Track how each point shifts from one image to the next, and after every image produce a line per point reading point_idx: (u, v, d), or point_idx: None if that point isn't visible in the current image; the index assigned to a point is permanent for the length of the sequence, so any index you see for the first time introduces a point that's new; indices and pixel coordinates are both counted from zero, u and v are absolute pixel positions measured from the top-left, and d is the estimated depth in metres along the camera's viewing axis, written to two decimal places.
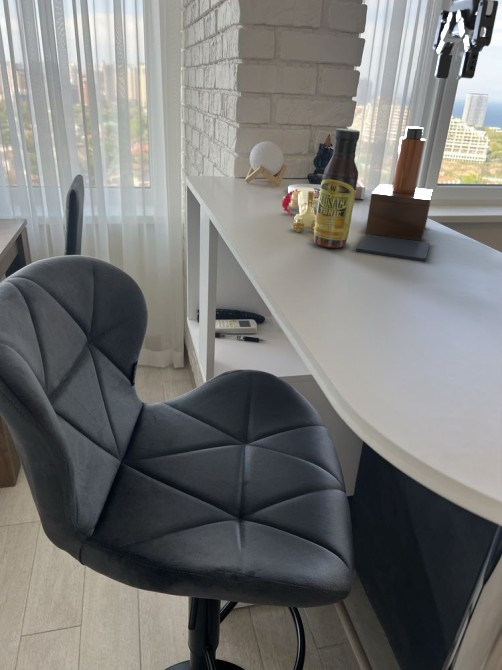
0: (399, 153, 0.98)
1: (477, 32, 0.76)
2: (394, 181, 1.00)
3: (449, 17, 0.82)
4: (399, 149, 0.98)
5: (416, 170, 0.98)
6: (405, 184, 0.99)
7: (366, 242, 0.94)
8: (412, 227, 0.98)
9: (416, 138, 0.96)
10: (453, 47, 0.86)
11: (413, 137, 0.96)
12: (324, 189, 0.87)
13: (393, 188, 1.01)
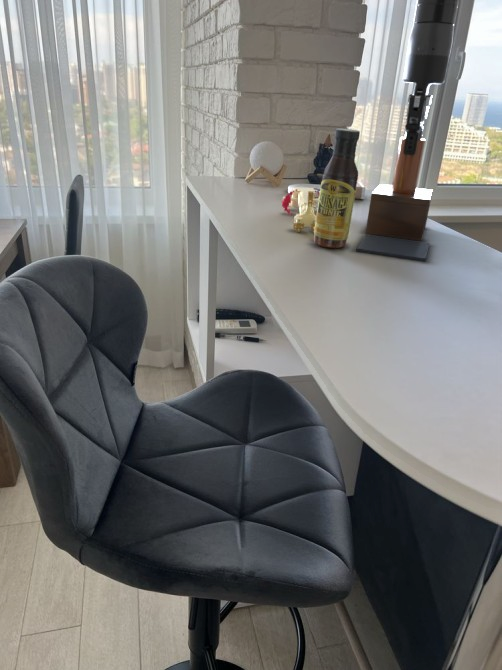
0: (399, 153, 0.98)
1: None
2: (394, 181, 1.00)
3: None
4: (399, 149, 0.98)
5: (416, 170, 0.98)
6: (405, 184, 0.99)
7: (366, 242, 0.94)
8: (412, 227, 0.98)
9: None
10: (420, 125, 0.98)
11: None
12: (324, 189, 0.87)
13: (393, 188, 1.01)
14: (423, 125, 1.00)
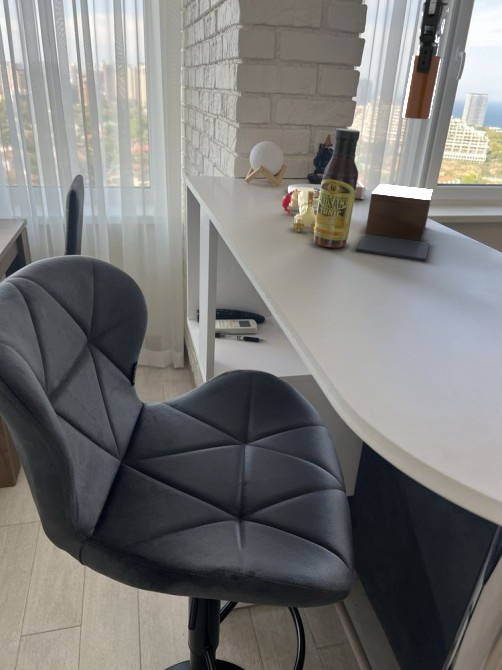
0: (411, 73, 0.89)
1: (421, 31, 0.82)
2: (406, 106, 0.91)
3: None
4: (412, 68, 0.89)
5: (430, 91, 0.89)
6: (417, 108, 0.90)
7: (366, 242, 0.94)
8: (412, 227, 0.98)
9: None
10: (436, 41, 0.89)
11: None
12: (324, 189, 0.87)
13: (404, 114, 0.92)
14: None
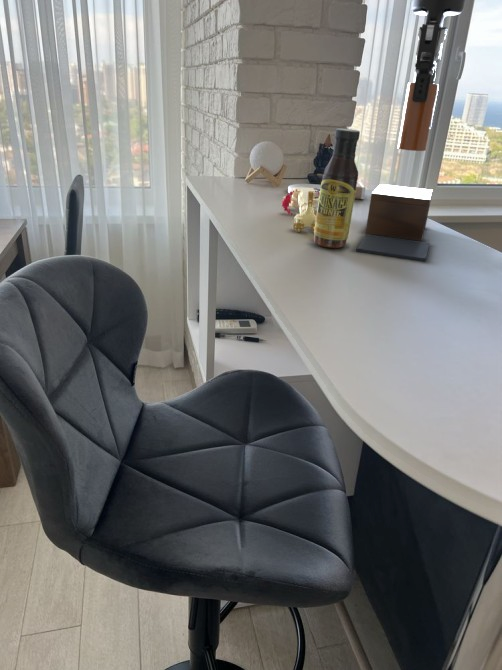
0: (407, 101, 0.82)
1: (417, 58, 0.75)
2: (401, 136, 0.84)
3: None
4: (407, 96, 0.82)
5: (427, 121, 0.82)
6: (414, 139, 0.83)
7: (366, 242, 0.94)
8: (412, 227, 0.98)
9: None
10: (433, 67, 0.82)
11: None
12: (324, 189, 0.87)
13: (399, 145, 0.85)
14: (436, 69, 0.84)
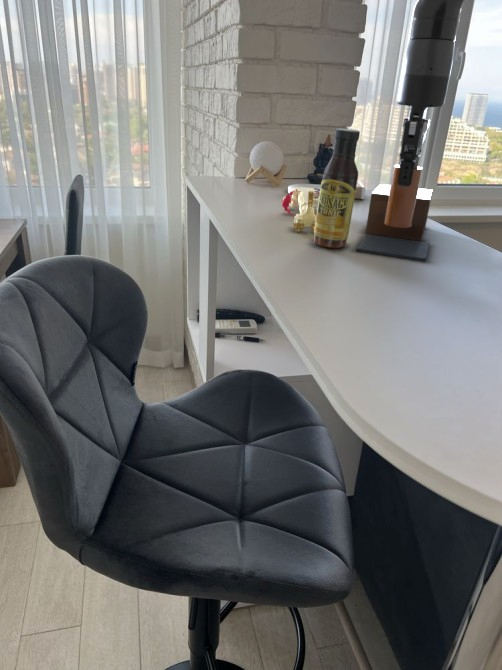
0: (393, 183, 0.87)
1: (401, 149, 0.81)
2: (387, 214, 0.90)
3: None
4: (393, 178, 0.87)
5: (411, 202, 0.87)
6: (399, 218, 0.88)
7: (366, 242, 0.94)
8: (412, 227, 0.98)
9: None
10: (417, 151, 0.88)
11: None
12: (324, 189, 0.87)
13: (386, 221, 0.90)
14: (420, 151, 0.90)
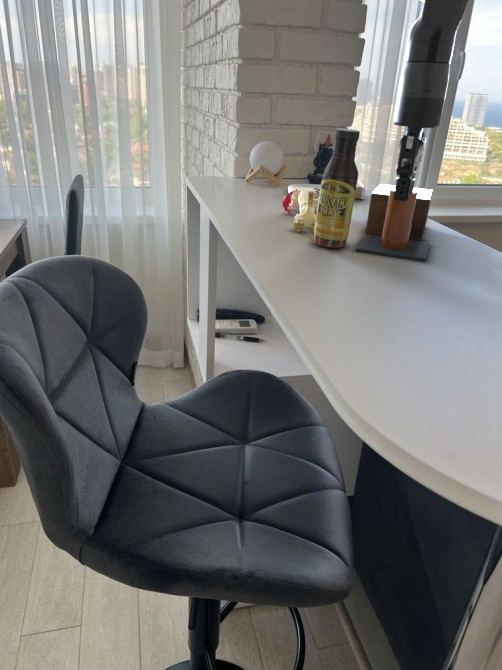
0: (389, 206, 0.89)
1: (398, 163, 0.81)
2: (384, 235, 0.92)
3: None
4: (389, 201, 0.89)
5: (407, 224, 0.89)
6: (395, 239, 0.90)
7: (366, 242, 0.94)
8: (412, 227, 0.98)
9: None
10: None
11: None
12: (324, 189, 0.87)
13: (383, 242, 0.92)
14: None
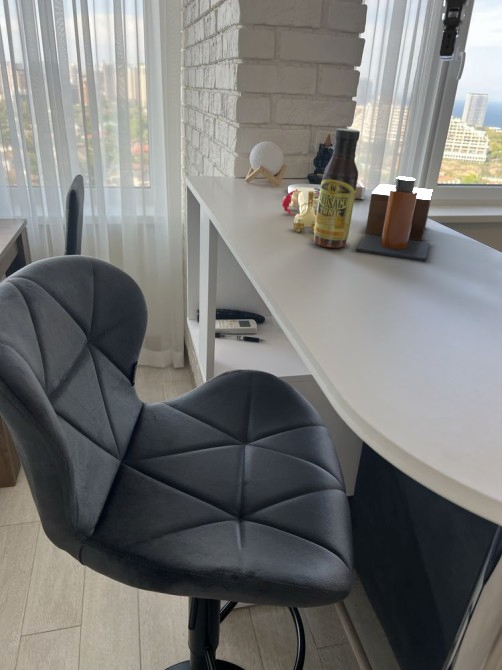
0: (389, 206, 0.89)
1: (445, 13, 0.82)
2: (384, 235, 0.92)
3: None
4: (389, 201, 0.89)
5: (407, 224, 0.89)
6: (395, 239, 0.90)
7: (366, 242, 0.94)
8: (412, 227, 0.98)
9: (407, 190, 0.87)
10: None
11: (404, 189, 0.87)
12: (324, 189, 0.87)
13: (383, 242, 0.92)
14: (458, 30, 0.94)
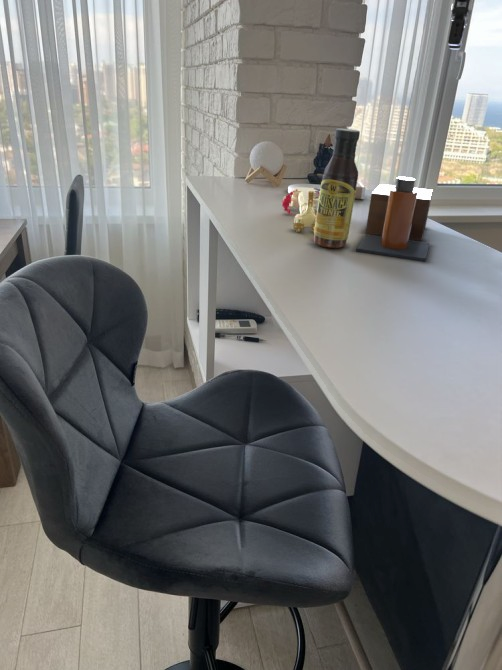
0: (389, 206, 0.89)
1: (454, 3, 0.88)
2: (384, 235, 0.92)
3: None
4: (389, 201, 0.89)
5: (407, 224, 0.89)
6: (395, 239, 0.90)
7: (366, 242, 0.94)
8: (412, 227, 0.98)
9: (407, 190, 0.87)
10: None
11: (404, 189, 0.87)
12: (324, 189, 0.87)
13: (383, 242, 0.92)
14: (467, 21, 0.99)
